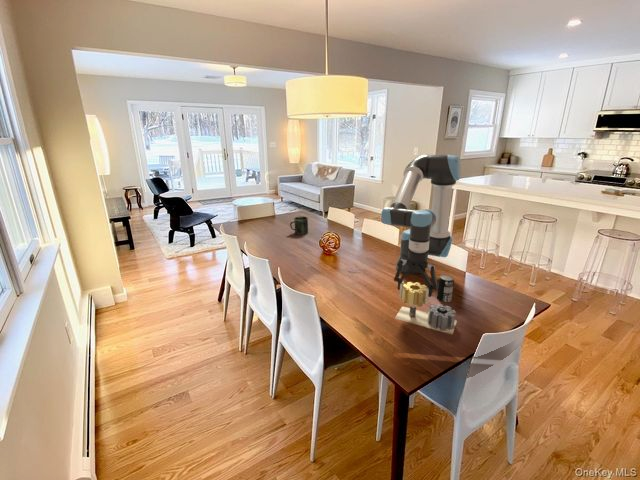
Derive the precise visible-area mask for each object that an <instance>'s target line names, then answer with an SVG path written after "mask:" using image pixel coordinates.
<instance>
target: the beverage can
mask: <svg viewBox="0 0 640 480" xmlns="http://www.w3.org/2000/svg"><path fill="white" fill-rule="evenodd" d="M437 284H438V287H437V294H436V299H437V300H438V301H441V302H445V303H447V302H448V303H450V302H452V301H453V292H454V285H455V280H454V277H453V276H452V275H450V274H441V275H440V276H439V279H438V282H437Z"/></svg>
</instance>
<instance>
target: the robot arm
mask: <svg viewBox="0 0 640 480" xmlns="http://www.w3.org/2000/svg"><path fill="white" fill-rule="evenodd" d="M460 178H461V160H460V157H459V156H458V155H456V154H455V155H453V154H452V155H451V154H423V155H420V156H417V157H415V158H414V159H413V160H412V161H411V162H409V163H408V164H407V166H406V167H405V169H404V170H403V178H402V180H401V183H400V185H399V187H398V189H397V191H396V192H395V193H396V194H395V196H394V198H393V200H392V202H391V205H390V207H389V206H386V207H383V208H382V209H381V213H380V220H381V223H382V224H384V225H387V226H388V225H389V226H393V227H394V226H395V227H405V228H409V229H404V231H402V232H401V238H400V249H399V250H400V253H399V254H400V255H399V257H398V259H397V261H396V264H395V268H396V270H397V271H396V273H395V276H394V278H393V281H394V282H396V283H397V290H398V291H399V295H398V296H399V299H402V298H401V296H402V285H403V284H405V281H404V279H405V278H406V277H407V276H408V275H416V274H417V275H418V274H420V275H421V276H422V278H423V280H424V282H425V284H426V286H427V292H426V301H425V304H424V305H428V304H429V301H430V300H429V299H430V298H431V297H432V296H433V290H435V291H436V290H438V281H437V280H438V279H437V275H436V264H431V263H428V258H429V256H432V257H438V258H447V257H448V256H449V253H450V250H451V246H452V243H453V238H454V237H453V236H451V231H449V230H448V229H449V221H450V210H451V201H452V193H453V191H452V190H453V186H455V185H456V184H457V181H459V180H460ZM423 179H427V180H428V179H429V180H430V184H431V185H432V186H433V194H432V205H431V206H432V207H431V209H430V208H428V209H427V208H426V209H423V210H422V209H420V210H419V209H418V210H417V209H410V205H411V203H412V200H413V198H414V196H415V192H416V190H417V188H418V186H419V183H420V182H421V181H422V180H423ZM426 269H428V270H429V272H430V276H429V275H428V273H427V270H426ZM401 273H403V274H402V276H400V275H401ZM430 277H431V279H430Z"/></svg>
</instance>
